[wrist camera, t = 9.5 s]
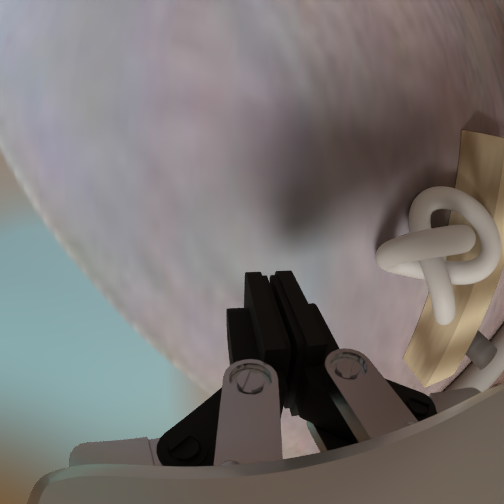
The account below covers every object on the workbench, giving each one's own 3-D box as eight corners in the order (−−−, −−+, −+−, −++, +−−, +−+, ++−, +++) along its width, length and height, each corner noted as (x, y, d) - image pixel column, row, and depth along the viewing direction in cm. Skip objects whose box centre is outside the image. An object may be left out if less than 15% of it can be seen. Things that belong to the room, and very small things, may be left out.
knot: (451, 262, 19) (500, 298, 14) (374, 309, 19) (419, 362, 14) (447, 173, 16) (512, 197, 11) (356, 214, 16) (421, 258, 11)
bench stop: (461, 129, 15) (529, 144, 9) (503, 147, 16) (557, 165, 10) (402, 358, 23) (436, 403, 17) (448, 343, 24) (480, 378, 18)
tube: (530, 317, 22) (395, 455, 27) (536, 337, 23) (412, 463, 27) (507, 303, 27) (385, 429, 32) (516, 323, 28) (402, 440, 33)
